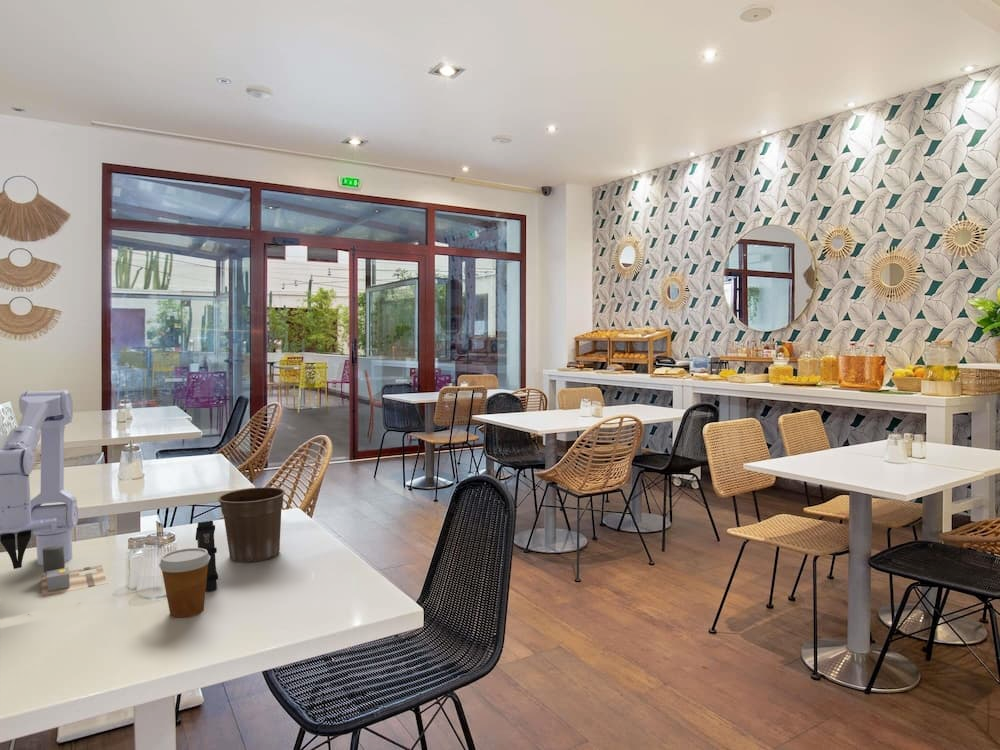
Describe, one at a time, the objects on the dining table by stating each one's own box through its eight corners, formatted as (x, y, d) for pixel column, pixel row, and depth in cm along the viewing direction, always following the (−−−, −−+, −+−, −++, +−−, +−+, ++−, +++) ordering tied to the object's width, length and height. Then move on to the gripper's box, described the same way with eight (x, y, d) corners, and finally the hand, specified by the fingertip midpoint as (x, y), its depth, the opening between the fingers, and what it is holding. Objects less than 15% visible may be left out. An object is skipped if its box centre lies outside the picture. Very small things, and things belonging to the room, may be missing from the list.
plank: (41, 582, 151) (41, 575, 151) (101, 571, 158) (101, 564, 158) (42, 603, 139) (42, 595, 139) (107, 589, 146) (107, 582, 146)
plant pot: (205, 561, 164) (203, 498, 163) (252, 542, 179) (250, 485, 178) (255, 569, 158) (253, 504, 157) (300, 549, 173) (298, 489, 172)
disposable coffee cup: (161, 625, 127) (158, 565, 126) (161, 608, 135) (158, 551, 135) (214, 615, 131) (211, 557, 131) (211, 599, 140) (208, 544, 139)
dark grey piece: (44, 577, 150) (42, 547, 150) (64, 573, 152) (63, 544, 152) (44, 582, 147) (42, 552, 147) (65, 578, 149) (63, 548, 149)
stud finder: (47, 584, 145) (46, 570, 145) (68, 580, 148) (67, 566, 147) (47, 591, 141) (47, 577, 141) (69, 587, 143) (69, 573, 143)
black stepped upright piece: (200, 591, 140) (196, 522, 145) (198, 598, 151) (195, 533, 156) (219, 587, 142) (214, 519, 147) (216, 594, 153) (212, 531, 158)
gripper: (-31, 514, 132) (-27, 580, 132) (55, 503, 140) (58, 564, 141) (-29, 507, 137) (-25, 570, 138) (54, 497, 146) (57, 556, 147)
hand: (17, 567), depth 140 cm, fingers closed
